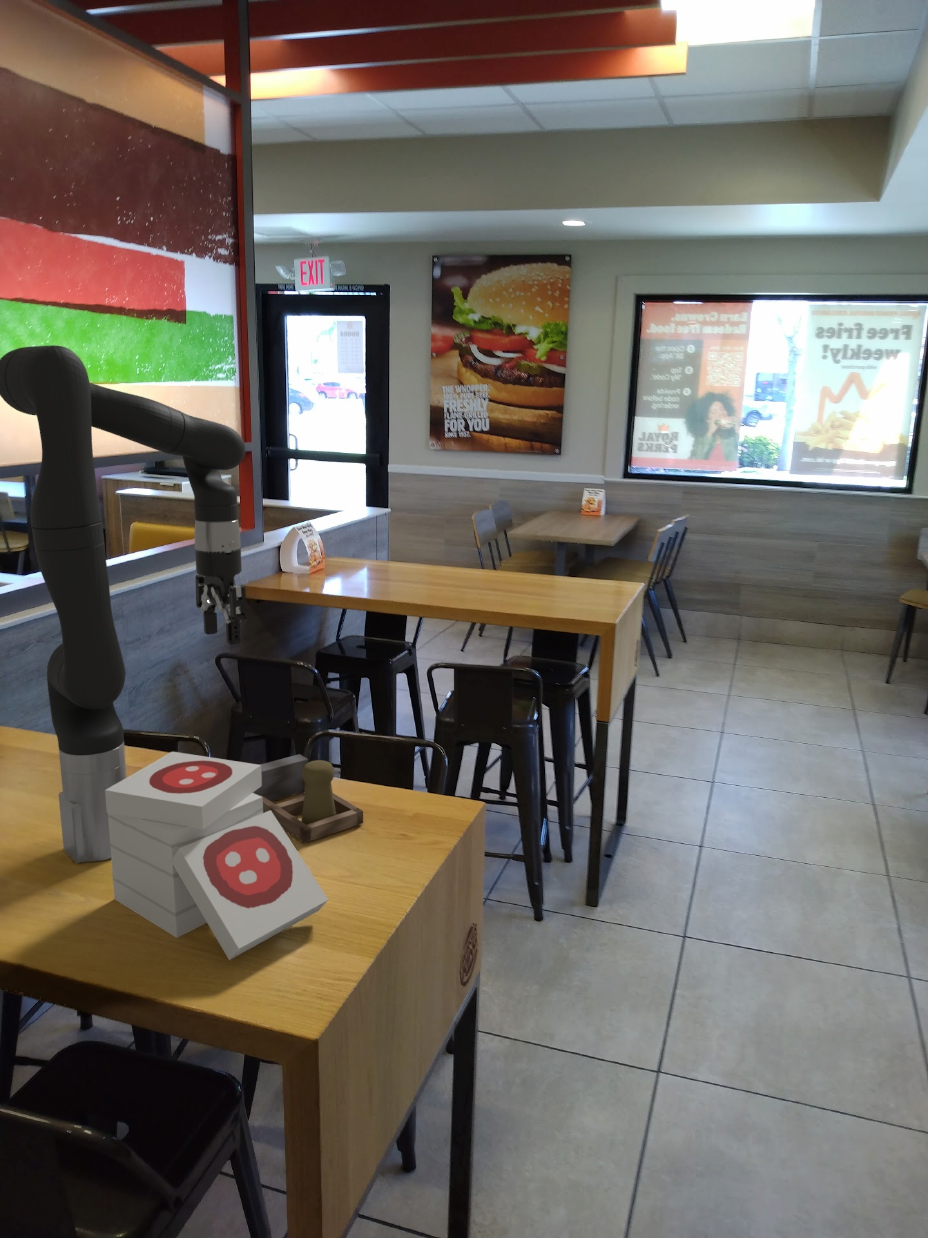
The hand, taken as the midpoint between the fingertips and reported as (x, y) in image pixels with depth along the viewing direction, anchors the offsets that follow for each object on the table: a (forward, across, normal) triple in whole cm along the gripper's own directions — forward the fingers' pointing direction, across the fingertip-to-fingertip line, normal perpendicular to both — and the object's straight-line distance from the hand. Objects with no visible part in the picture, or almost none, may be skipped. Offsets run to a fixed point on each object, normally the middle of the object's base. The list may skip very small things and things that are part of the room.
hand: (222, 638), depth 160 cm
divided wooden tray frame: (+28, +17, +5) cm, 33 cm away
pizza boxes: (+28, +36, -20) cm, 50 cm away
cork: (+28, +22, +5) cm, 36 cm away
